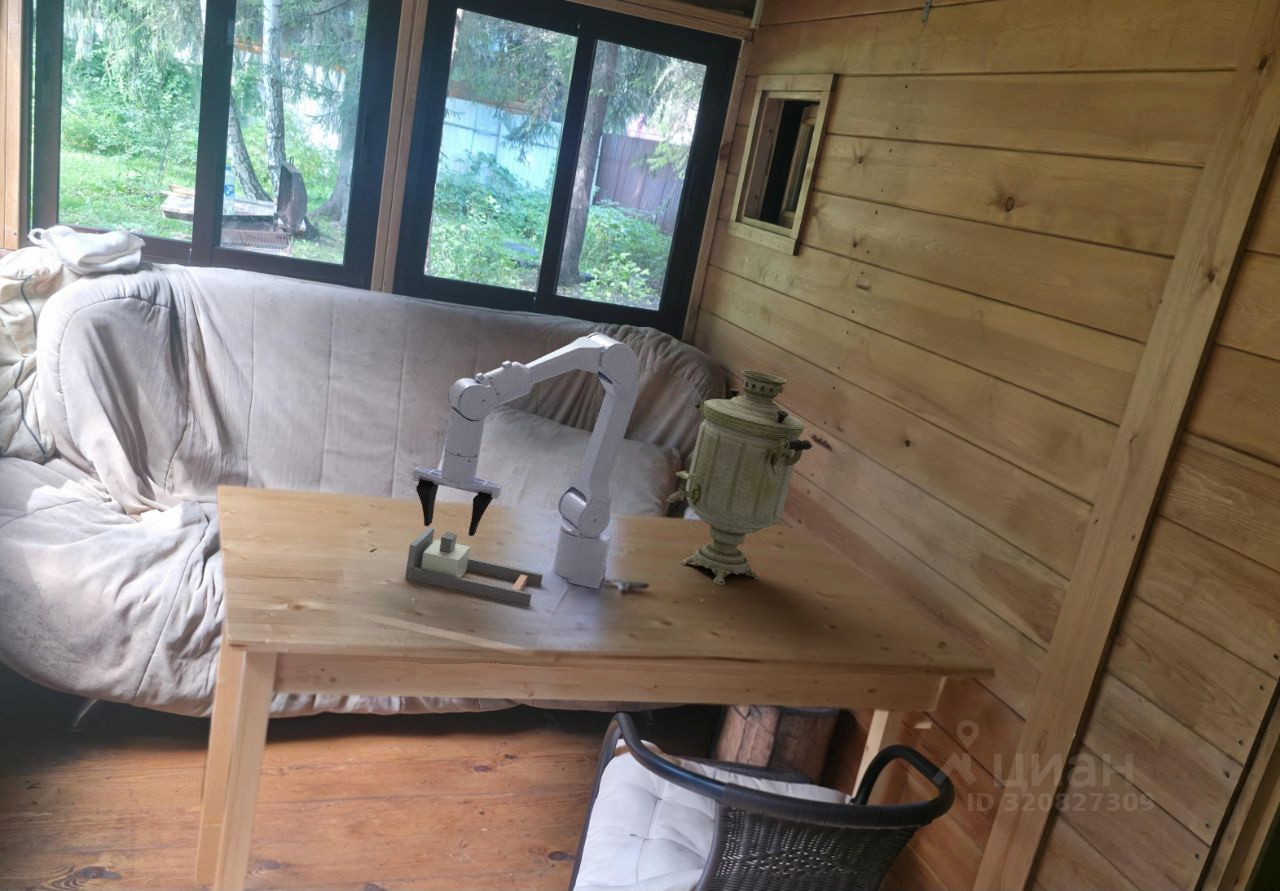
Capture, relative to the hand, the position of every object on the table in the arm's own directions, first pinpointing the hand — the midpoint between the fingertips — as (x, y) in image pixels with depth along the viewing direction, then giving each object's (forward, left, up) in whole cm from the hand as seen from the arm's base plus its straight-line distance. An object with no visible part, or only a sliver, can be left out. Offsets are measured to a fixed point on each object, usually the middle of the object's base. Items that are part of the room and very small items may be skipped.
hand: (449, 529), depth 168 cm
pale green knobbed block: (0, 0, -8) cm, 8 cm away
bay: (-6, 0, -9) cm, 11 cm away
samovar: (-44, -33, -9) cm, 56 cm away
